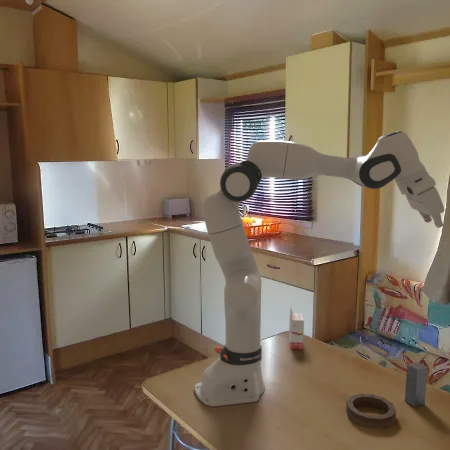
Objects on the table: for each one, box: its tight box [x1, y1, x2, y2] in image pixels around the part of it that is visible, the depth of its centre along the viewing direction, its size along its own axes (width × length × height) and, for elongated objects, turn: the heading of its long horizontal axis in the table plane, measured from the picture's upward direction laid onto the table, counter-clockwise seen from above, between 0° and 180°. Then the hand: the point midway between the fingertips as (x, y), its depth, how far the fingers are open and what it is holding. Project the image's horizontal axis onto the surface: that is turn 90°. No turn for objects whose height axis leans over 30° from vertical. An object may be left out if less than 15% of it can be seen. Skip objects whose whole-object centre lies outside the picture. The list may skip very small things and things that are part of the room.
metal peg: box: [404, 361, 429, 408], centre depth 143 cm, size 4×4×12 cm
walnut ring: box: [345, 393, 397, 430], centre depth 137 cm, size 13×13×3 cm
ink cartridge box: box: [288, 306, 305, 350], centre depth 185 cm, size 9×5×15 cm, turn 178°
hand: (434, 224), depth 139 cm, fingers open, 8 cm apart
